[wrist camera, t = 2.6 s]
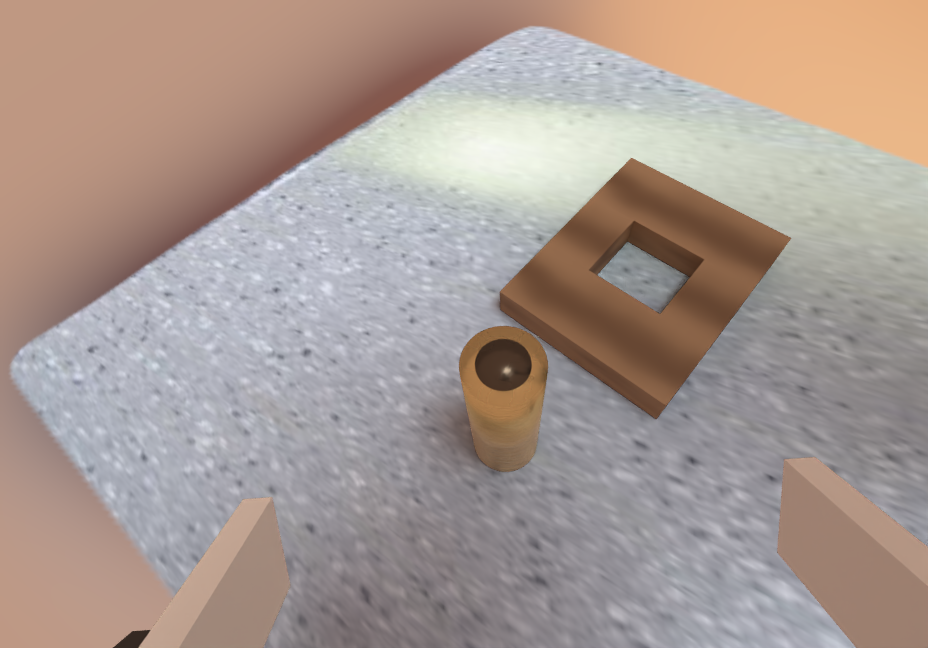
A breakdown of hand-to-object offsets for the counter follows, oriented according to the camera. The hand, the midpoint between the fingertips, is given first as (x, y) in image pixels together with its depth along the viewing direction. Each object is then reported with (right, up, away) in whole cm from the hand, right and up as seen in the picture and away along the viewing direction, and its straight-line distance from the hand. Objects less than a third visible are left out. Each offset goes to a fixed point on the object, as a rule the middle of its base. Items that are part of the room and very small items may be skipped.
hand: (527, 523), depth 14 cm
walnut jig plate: (+14, +9, +35) cm, 38 cm away
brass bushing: (+2, -4, +28) cm, 29 cm away
